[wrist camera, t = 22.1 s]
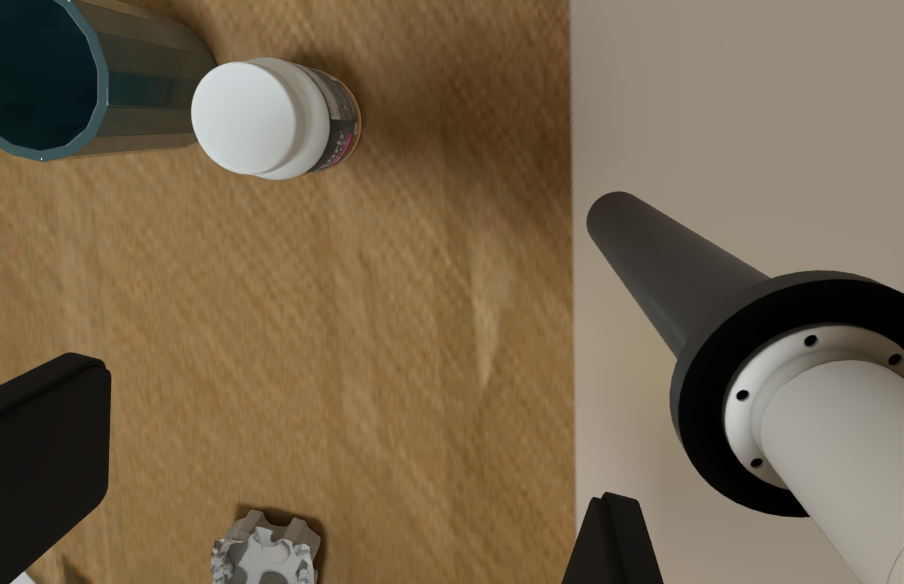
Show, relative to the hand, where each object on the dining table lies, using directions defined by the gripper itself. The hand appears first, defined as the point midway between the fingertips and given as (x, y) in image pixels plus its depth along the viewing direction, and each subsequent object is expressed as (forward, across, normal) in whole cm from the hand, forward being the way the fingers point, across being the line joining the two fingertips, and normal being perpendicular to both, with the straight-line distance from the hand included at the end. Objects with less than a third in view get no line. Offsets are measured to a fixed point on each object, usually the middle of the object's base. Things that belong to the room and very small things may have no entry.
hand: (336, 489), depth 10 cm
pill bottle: (+25, +10, -5) cm, 28 cm away
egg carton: (+26, +9, +29) cm, 40 cm away
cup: (+25, +20, -5) cm, 32 cm away
